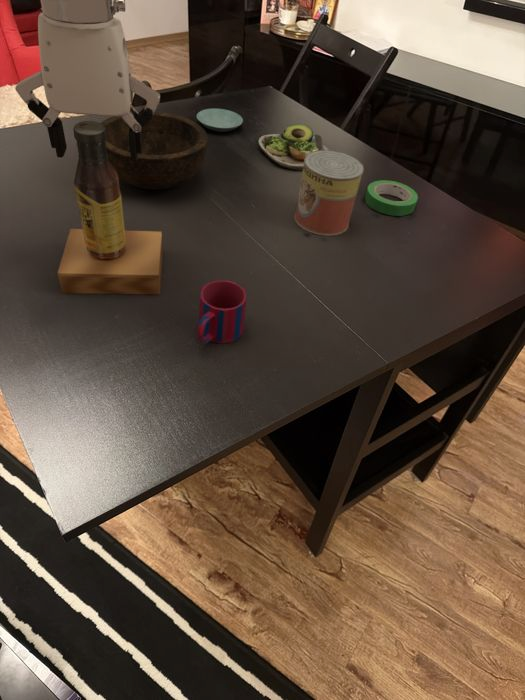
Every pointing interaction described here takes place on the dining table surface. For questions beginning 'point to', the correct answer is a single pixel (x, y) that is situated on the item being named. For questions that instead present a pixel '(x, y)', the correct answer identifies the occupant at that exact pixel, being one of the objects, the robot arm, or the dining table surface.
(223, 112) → the saucer
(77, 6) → the robot arm
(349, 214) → the canned food
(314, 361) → the dining table surface
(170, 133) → the bowl
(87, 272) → the oak stand
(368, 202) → the tape roll
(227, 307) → the mug
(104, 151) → the sauce bottle
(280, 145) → the avocado toast plate
